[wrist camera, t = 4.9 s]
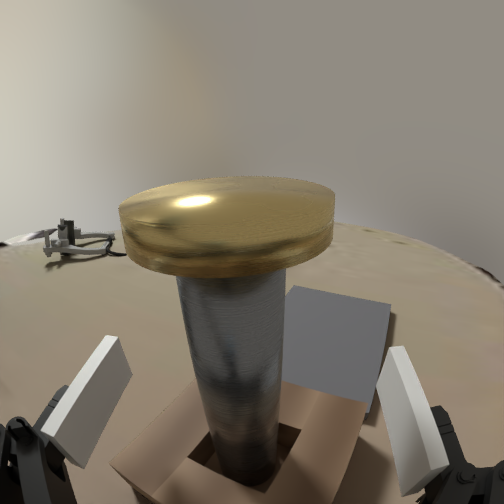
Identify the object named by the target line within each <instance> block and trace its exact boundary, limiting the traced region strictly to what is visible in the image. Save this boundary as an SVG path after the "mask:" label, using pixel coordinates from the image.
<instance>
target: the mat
mask: <svg viewBox="0 0 504 504" xmlns="http://www.w3.org/2000/svg"><path fill="white" fill-rule="evenodd" d="M390 309H391V304H386V303H381V302H376V301H371V300H365V299H360V298H355V297H350V296H345V295H340V294H335V293H330V292H325V291H320V290H315V289H310V288H305V287H300V286H295V285H294V286H293V287H292V288H291V290H290V291H289V292H288V294H287V295H286V296H285V313H284V339H283V361H282V381H285V382H289V383H292V384H295V385H299V386H302V387H306V388H309V389H313V390H316V391H320V392H324V393H328V394H331V395H335V396H339V397H343V398H348V399H352V400H356V401H361V402H365V403H368V406H367V409H366V413H365V416H364V420H366V418H367V416H368V414H369V411H370V407H371V404H372V400H373V396H374V392H375V388H376V384H377V380H378V375H379V371H380V366H381V361H382V356H383V351H384V346H385V341H386V335H387V329H388V323H389V316H390Z"/></svg>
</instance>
